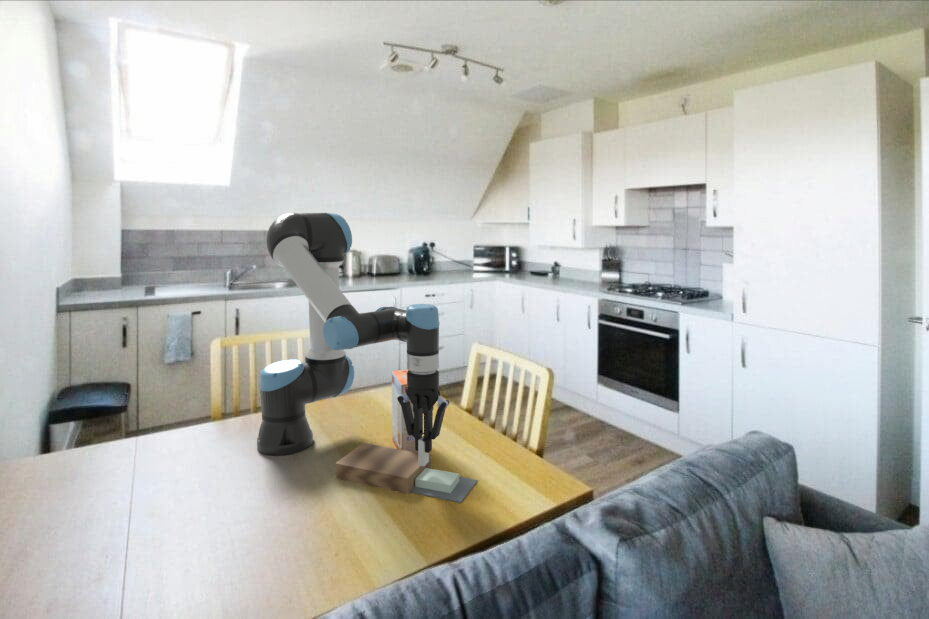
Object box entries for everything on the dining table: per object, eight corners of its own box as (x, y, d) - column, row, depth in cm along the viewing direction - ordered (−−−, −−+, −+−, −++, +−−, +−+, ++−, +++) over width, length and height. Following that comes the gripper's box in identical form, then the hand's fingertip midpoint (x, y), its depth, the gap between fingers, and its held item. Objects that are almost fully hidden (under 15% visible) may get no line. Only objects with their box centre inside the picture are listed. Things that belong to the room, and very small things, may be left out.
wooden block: (335, 478, 133) (335, 463, 132) (364, 456, 144) (363, 442, 144) (407, 494, 125) (407, 478, 125) (431, 469, 137) (431, 455, 137)
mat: (409, 492, 126) (409, 490, 126) (429, 471, 136) (429, 470, 136) (460, 503, 122) (460, 501, 121) (477, 481, 132) (477, 479, 132)
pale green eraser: (415, 486, 128) (415, 478, 128) (425, 475, 134) (425, 467, 133) (450, 493, 125) (450, 485, 125) (459, 481, 131) (459, 473, 130)
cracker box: (423, 456, 145) (422, 382, 141) (401, 459, 143) (400, 384, 139) (412, 436, 158) (411, 368, 154) (391, 439, 156) (390, 369, 152)
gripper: (390, 371, 125) (392, 465, 129) (441, 377, 120) (441, 475, 124) (405, 363, 132) (406, 452, 136) (454, 369, 127) (454, 461, 131)
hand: (423, 463), depth 130 cm, fingers closed
